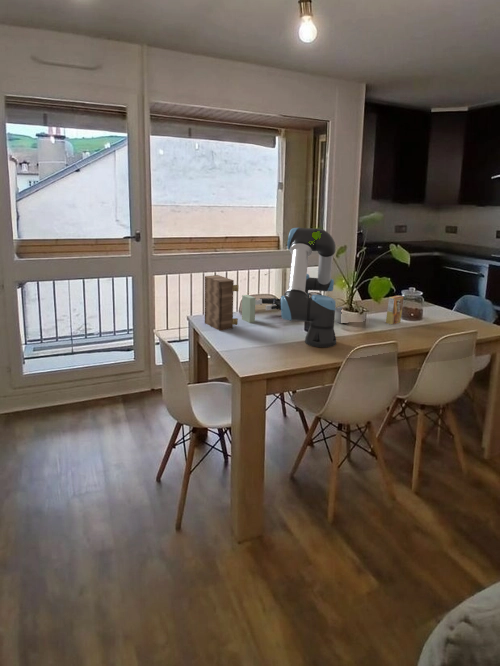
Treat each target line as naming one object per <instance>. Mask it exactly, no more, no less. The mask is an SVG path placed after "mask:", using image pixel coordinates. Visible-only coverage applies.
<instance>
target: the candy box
mask: <svg viewBox="0 0 500 666" xmlns="http://www.w3.org/2000/svg"><path fill="white" fill-rule="evenodd" d="M404 298H405V297H404V296H403V295H394V296H389V297H388V303H387V311H386V319H385V323H386V324H388V325H395V324H399V323H401V319H402V312H403V307H404V306H403V305H404Z"/></svg>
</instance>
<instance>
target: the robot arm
mask: <svg viewBox="0 0 500 666" xmlns="http://www.w3.org/2000/svg"><path fill="white" fill-rule="evenodd" d="M317 231H320V233H322V234H321V238H320V240H319V238H318V239H317V240H315V239H314V238H313V237H312V233H313V232H317ZM314 240H315V241H314ZM309 241H314V242H315V243H314V242H313V244H314V245H313V244H311V245H310V244H309V243H308V242H309ZM286 243H287V245H286V247H287V248H286V249H287V250H288V251H289V253H290V254H291V260H290V268H289V277H288V285H287V290H286V291H285V292H284V293H283V295H281V296H280V298H276V297H274V298H273V297H271V298H269V297H267V298H265V297H263V298H262V297H261V298H259V299H256V300H255V306H257V305H262V304H266V305H265V311H273V310H279V311H281V319H282V320H285V321H295V322H307V323H309V328H308V330H307V333H306V336H305V339H304V342H305V344H306V345H308V346H311V347H314V348H332V347H335V346H336V345H337V336H336V333H335V328H334V327H335V310H336V308H337V307H336V304H337V303H336V300H335V299H334V298H332V297H331V296H328V295H323V294H319V293H318V294H316V293H315V294H312V295H311V298H309V294H310V293H309V291H317V292H318V291H319V292H333V290H334V285H335V283H334V282H335V280H334V279H333V278H332V269H333V258H334V255H335V253H336V250H337V249H336V248H337V247H336V242H335V239H334V237H333V236H332V235H331V234H330V233H329V232H328V231H326V230H325V229H322V228H308V227H307V228H305V227H293V228H291V229H290V230H289V233H288V237H287V242H286ZM310 243H311V242H310ZM313 252H317V254H318V264H317V265H318V268H317V277H310V275H309V273H308V265H309V257H310V256H311V254H312V253H313Z"/></svg>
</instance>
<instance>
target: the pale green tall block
mask: <svg viewBox="0 0 500 666" xmlns="http://www.w3.org/2000/svg"><path fill="white" fill-rule="evenodd" d="M255 300H257V299H256V297H254V296H252V295H249V294H243V295H242V296H241V320H242V321H244V322H247V323H249V324H252V323H255V322H256V305H255Z"/></svg>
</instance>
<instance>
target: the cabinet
mask: <svg viewBox="0 0 500 666" xmlns="http://www.w3.org/2000/svg"><path fill="white" fill-rule="evenodd" d="M234 292H239V284H234V280H233V279H231V278H229V277H226V276H221V275H218V274H216V275H215V274H214V275H205V276H204V324H206V325H207V326H209V327H211V328H213V329H216V330H218V331H226V330H232V329H234V328H233V327H234V326H235V325H236V326H237V325H238V321H239V318H235V317H234Z"/></svg>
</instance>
